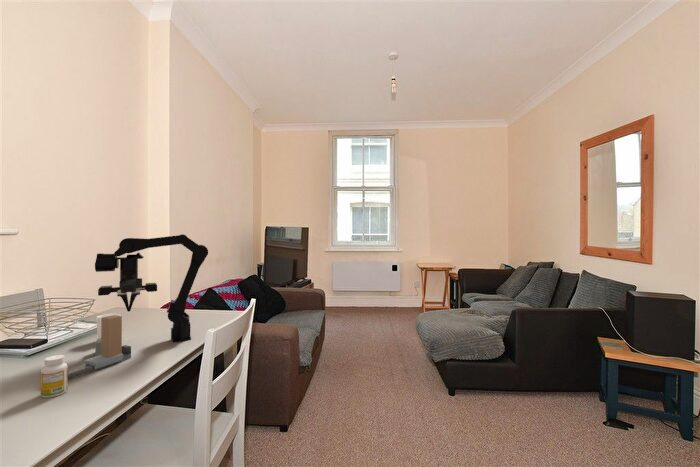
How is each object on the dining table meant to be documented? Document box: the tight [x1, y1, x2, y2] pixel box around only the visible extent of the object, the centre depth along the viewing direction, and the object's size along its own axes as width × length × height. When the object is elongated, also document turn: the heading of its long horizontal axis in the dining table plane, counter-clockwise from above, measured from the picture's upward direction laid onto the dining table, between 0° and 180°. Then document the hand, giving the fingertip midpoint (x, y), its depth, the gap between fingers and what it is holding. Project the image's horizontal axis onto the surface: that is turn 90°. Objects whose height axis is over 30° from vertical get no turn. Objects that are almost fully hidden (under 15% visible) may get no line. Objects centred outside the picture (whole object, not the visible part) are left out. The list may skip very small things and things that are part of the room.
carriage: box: [84, 315, 124, 370], centre depth 110 cm, size 8×6×14 cm, turn 158°
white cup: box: [96, 312, 122, 338], centre depth 136 cm, size 8×8×10 cm
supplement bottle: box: [40, 354, 69, 399], centre depth 91 cm, size 5×5×10 cm
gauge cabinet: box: [94, 337, 101, 357], centre depth 122 cm, size 7×7×5 cm
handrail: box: [68, 344, 132, 380], centre depth 107 cm, size 22×3×4 cm, turn 158°
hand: (128, 311), depth 130 cm, fingers closed
